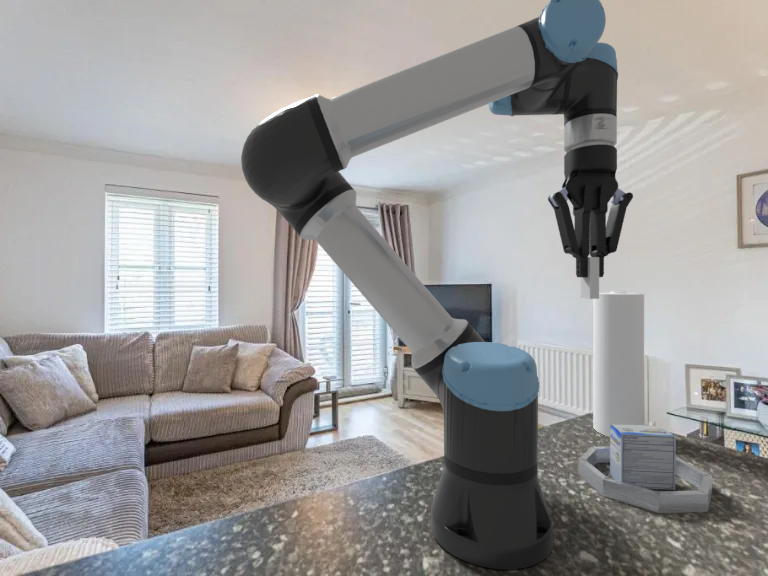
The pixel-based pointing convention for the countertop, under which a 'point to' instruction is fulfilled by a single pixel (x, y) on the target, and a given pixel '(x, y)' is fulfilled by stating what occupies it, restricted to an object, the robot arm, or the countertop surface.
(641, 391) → the cylinder container
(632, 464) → the medicine box
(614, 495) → the collar
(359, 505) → the countertop surface
